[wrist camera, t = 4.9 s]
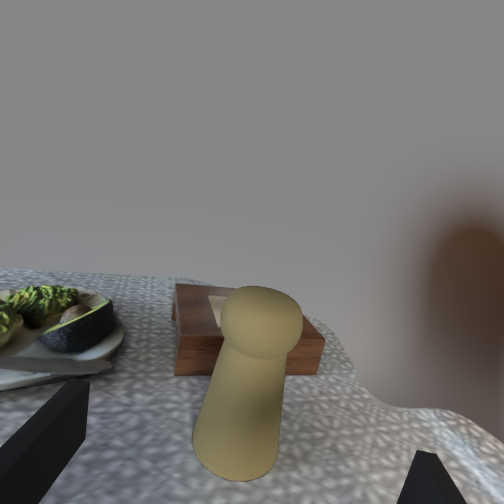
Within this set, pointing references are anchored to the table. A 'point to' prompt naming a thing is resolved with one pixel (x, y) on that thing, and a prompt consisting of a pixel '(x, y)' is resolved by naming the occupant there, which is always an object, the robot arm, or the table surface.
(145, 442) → the table surface
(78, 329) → the salad plate
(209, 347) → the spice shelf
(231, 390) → the cork
